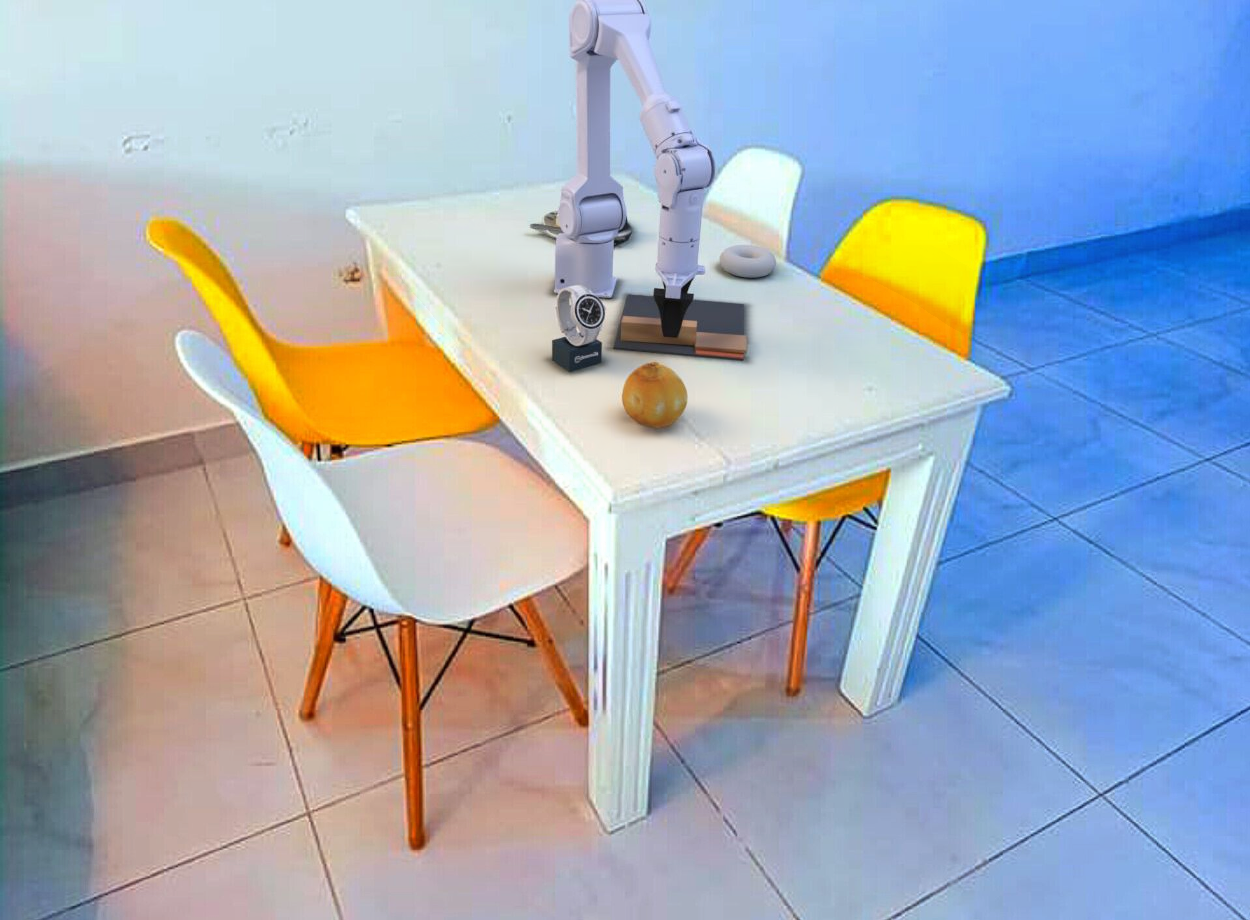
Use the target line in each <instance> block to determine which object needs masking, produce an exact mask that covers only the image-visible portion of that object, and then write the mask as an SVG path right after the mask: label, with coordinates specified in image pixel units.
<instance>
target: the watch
mask: <svg viewBox="0 0 1250 920" xmlns="http://www.w3.org/2000/svg"><path fill="white" fill-rule="evenodd" d="M571 293H572V294H571ZM570 294H571V295H570ZM555 302H556V303H555V304H556V306H555V312H556V317H557V321H558V326H559V328H560V331H561V333H562V334H563V335H564V336H562V337H559V338H555V339H552V340H551V360H552V362H554V363H555V364H557V365H558V366H559V367H561V368H562V369H564V370H565V371H567V372H568V373H571V372H574V371H578V370H581V369H584V368H588V367H592V366H595V365H597V364H602V361H603V360H602V359H603V357H602V355H603V342H602V341H601V340H600V339H598V337H599V335H600V332H601V331H602V328H603V324H604V321H605V319H606V310H607V309H606V308H607V307H606V305H604V303H603V301H602V299H600V297H597V296H595V295H594V294H593V293H592V291H591V290H588V289H587V288H586V287H584V286H582V285H575V286H570V287H566V288H563V289H561V290H560V291H559V293H557V294H556V301H555ZM577 329H578V330H577Z"/></svg>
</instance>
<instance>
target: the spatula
mask: <svg viewBox="0 0 1250 920" xmlns="http://www.w3.org/2000/svg"><path fill="white" fill-rule="evenodd" d="M621 318H622V317H621ZM696 330H697V321H688V320H683V322H682V326H681V329H680V333H679V335H678V338H671V337H663V333H662V327H661V319H660V318H645V317H631V316H623V318H622V322H621V340H622V341H636V342H650V343H664V344H678V345H692V346H695V350H704V351H718V352H732V353H744V354H747V350H748V349H747V347H748V342H747V341H748V338H747V337H748V336H747V335H745V334H744V335H732V334H717V333H703V332H696Z"/></svg>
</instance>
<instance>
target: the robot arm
mask: <svg viewBox="0 0 1250 920" xmlns="http://www.w3.org/2000/svg"><path fill="white" fill-rule="evenodd" d="M651 30H652V20H651V18H650V16H649V11H648V8H647V6H646V4H645V2H644V1H643V0H577V1H576V2H575V4H574V5H573V7H572V8H571V10H570V12H569V13H568V36H569V37H568V42H569V44H568V45H569V47H568V48H569V57H570V58H571V59H572V60H574V67H575V68H574V70H575V72H574V74H575V125H576V126H575V131H576V133H575V134H576V136H575V141H576V142H575V143H576V173H575V175H573V176H572V177H571V178H570V179H569V180H568V181H567V182H565V184H564V185H562V187H561V188H560V201H559V205H558V209H557V211H558V220H559V224H560V227H561V229H562V231H563V232H564V233H560V234H558V236H557V239H555V248H554V249H555V250H554V290H553V292H554V294H558V293H559V291H560V290H561V289H563V288H566V287H570V286H575V285H582V286H584V287H586V288H587V289H588V290H591V291H592V293H593V294H594V295H595V296H597V297H598V298H605V299H606V298H607V299H608V298H609V299H610V298H612V297H613V294H614V292H615V288H616V285H617V282H618V278H617V277H614V275H613V274H614V273H613V272H614V249H615V248H614V247H615V244H614V237H618V230H621V229H622V228H623V226H624V224H625V221H626V216H627V217H628V215H627V206H626V202H625V197H624V187H623V185H622V184H621V183H620V182H619V181H618V180H617V179H615V178H614V177H612V175H611V69H612V66H613V65H614V64H615V63H616V62H617V61H619V63H620V65H621V67H622V69H623V71H624V73H625V75H626V76H627V78H628V80H629V82H630V84H631V87H633V89H634V91H635V93H636V95H637V98H638V99H639V101H640V102H641V104H642V107H641V110H640V113H639V116H638V117H639V118H638V119H639V122H640V123H641V126H642V127H643V130H644V133H645V134H646V137H647V139H648V142H649V144H650V146H651V148H652V149H651V150H652V151H653V153H654V156H655V158H656V163H655V165H654V166H653V173H654V179H655V183H656V186H657V198H658V203H660V214H659V227H658V229H659V230H658V242H657V243H658V245H657V257H656V258H657V259H656V263H655V265H654V266H655V267H654V271H655V273H657V275H658V276H659V278H660V279H661V282H662V286H663V288H661V287H654V288H653V292H652V296H653V297H654V300H655V302H656V304H657V306H658V309H659V313H660V318H661V327H662V333H663V337H671V338H678V335H679V333H680V329H681V326H682V322H683V318H684V315H685V313H686V310H687V309H688V307H689V305H690V304H691V302H692V301H693V300H694V298H695V293H693V292H692V293H691V292H690V293H689V289H690V287H691V284H692V282H693V281H694V279H695V277H696V276H698V275H699V276H703V275H705V274H706V266H705V265H703V264H698V262H699V253H700V252H699V250H700V241H701V231H702V222H703V221H702V220H703V218H702V217H703V210H704V199H705V189H707V188H709V187H710V186H711V185H712V184H713V182H714V180H715V176H716V162H715V157H714V154H713V151H712V149H711V148H710V146H709V145H708V144H705V143H704V142H702V140H701V139H700V138H699V137H695V135H694V133H693V130H692V129H691V126H690V124H689V121H688V119H687V117H686V114H685V112H684V110H683V108H682V105H681V103H680V101H679V98H678V97H676V96H675V95H671V94H668V93H667V91H666V89H665V85H664V82H663V80H662V77H661V74H660V71H659V68H658V65H657V62H656V59H655V56H654V54H653V50H652V47H651V45H650V44H651V43H650V37H651ZM571 294H572V293H571ZM571 294H570V295H571Z"/></svg>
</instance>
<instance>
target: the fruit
mask: <svg viewBox="0 0 1250 920" xmlns="http://www.w3.org/2000/svg"><path fill="white" fill-rule="evenodd" d="M688 398H689V397H688V390H687V387H686V385H685V383H684V380H682V378H681V377H680V376H679V375H678V373H677V372H675V371H674V370H673V369H672V368H670V367H668V366H666V365H663V364H660V363H659V362H658V361H651V362H647V363H645V364H642V365H641V366H639V367H637V368H636V369H635V370H633V371H632V372H631V373H630V374H629V376H628V377H627V378H626V379H625V381H624V384H623V387H622V392H621V402H622V406H623V408H624V410H625V412H626V414H627V415H628V417H629V418H631V419H632V420H633V421H634V422H636V423H638V424H640V425H642V426H645V427H649V428H654V429H655V428H656V429H659V428H664V427H665V428H666V427H668V426H670V425H672V424H674V423H675V422H676V421H678V420H679V418H680V417H681V416H682V415H683V413H684V412H685V410H686V407H687V405H688Z"/></svg>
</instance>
